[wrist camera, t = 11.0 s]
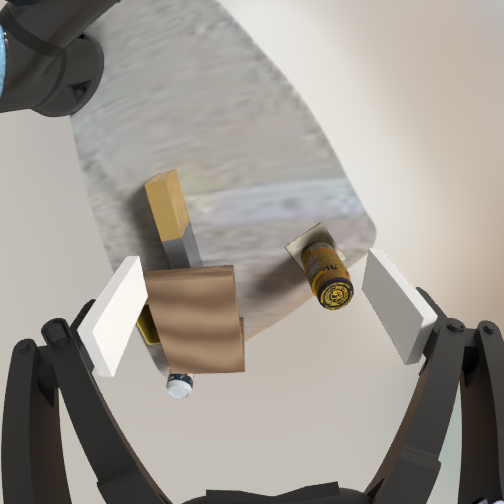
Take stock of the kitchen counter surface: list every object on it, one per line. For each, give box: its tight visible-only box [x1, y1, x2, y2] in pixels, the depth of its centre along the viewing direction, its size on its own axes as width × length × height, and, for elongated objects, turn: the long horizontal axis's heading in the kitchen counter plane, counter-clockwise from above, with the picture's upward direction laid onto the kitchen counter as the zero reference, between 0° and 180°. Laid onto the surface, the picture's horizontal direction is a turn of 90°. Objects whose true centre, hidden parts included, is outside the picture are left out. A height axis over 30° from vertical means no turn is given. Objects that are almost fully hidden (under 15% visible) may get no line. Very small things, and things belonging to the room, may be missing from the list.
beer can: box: [166, 369, 194, 398], centre depth 53 cm, size 5×5×12 cm
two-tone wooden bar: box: [144, 170, 203, 269], centre depth 46 cm, size 27×3×7 cm, turn 11°
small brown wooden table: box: [144, 265, 245, 374], centre depth 46 cm, size 18×12×12 cm, turn 4°
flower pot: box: [136, 299, 161, 345], centre depth 48 cm, size 9×9×9 cm
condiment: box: [286, 223, 354, 310], centre depth 44 cm, size 7×8×12 cm
